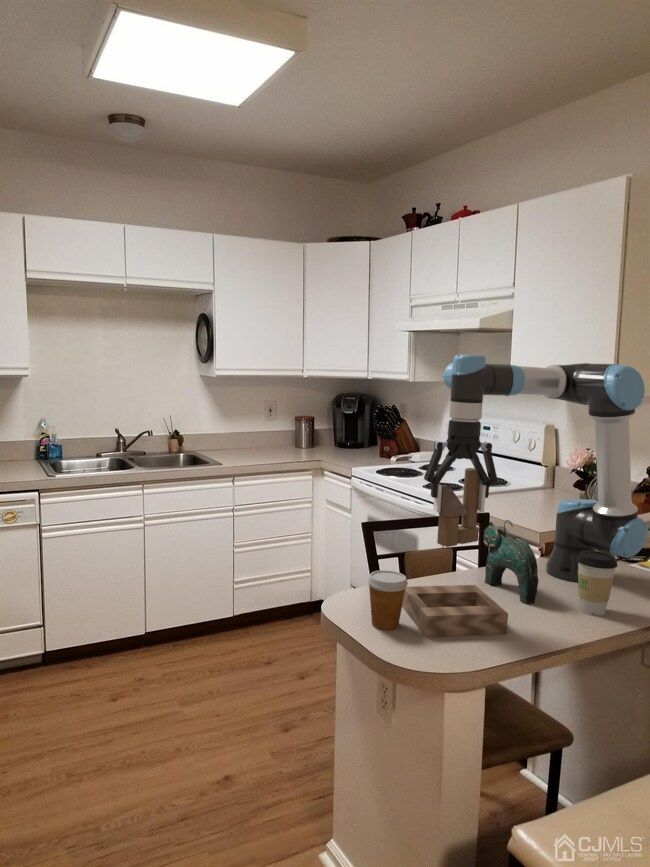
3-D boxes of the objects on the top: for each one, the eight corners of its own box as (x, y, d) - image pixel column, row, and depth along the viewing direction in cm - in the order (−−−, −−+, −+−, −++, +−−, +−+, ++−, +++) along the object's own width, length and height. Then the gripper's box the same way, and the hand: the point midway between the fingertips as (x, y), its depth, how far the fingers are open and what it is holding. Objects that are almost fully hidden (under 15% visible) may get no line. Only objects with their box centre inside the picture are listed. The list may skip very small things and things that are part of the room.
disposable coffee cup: (358, 619, 160) (360, 571, 159) (392, 614, 164) (395, 568, 162) (376, 635, 151) (379, 585, 150) (412, 630, 155) (415, 581, 154)
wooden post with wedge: (436, 543, 159) (441, 470, 157) (467, 538, 165) (472, 467, 163) (447, 547, 156) (452, 472, 154) (478, 541, 162) (483, 469, 160)
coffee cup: (582, 601, 179) (587, 547, 177) (618, 612, 172) (624, 556, 170) (565, 609, 172) (570, 554, 170) (603, 621, 165) (608, 563, 163)
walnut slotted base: (474, 603, 174) (475, 584, 173) (506, 633, 155) (508, 613, 155) (401, 605, 170) (402, 586, 170) (425, 636, 152) (426, 616, 151)
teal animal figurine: (478, 581, 192) (483, 513, 189) (496, 579, 194) (501, 512, 192) (523, 606, 173) (529, 532, 171) (542, 603, 176) (549, 530, 174)
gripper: (503, 419, 163) (496, 507, 165) (413, 417, 158) (408, 507, 161) (517, 422, 155) (509, 514, 158) (424, 420, 151) (418, 514, 154)
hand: (458, 510), depth 160 cm, fingers closed on wooden post with wedge, 10 cm apart
